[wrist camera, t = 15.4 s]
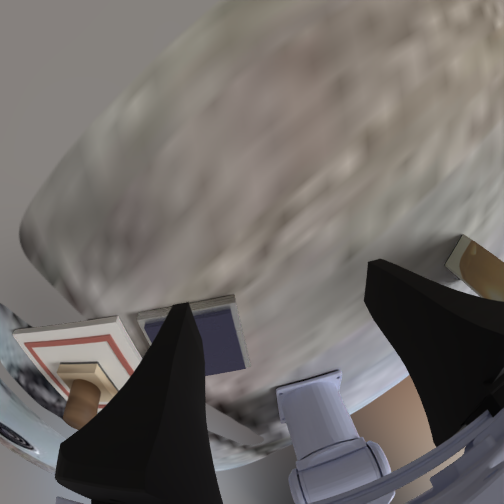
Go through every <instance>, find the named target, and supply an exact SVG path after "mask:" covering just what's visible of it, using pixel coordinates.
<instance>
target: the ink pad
mask: <svg viewBox="0 0 504 504" xmlns="http://www.w3.org/2000/svg"><path fill="white" fill-rule="evenodd" d="M189 305H190V308H191V311H192V313H193V316H194V319H195V322H196V325H197V327H198V330H199V333H200V335H201V338H202V342H203V350H204V358H205V376H208V375H214V374H220V373H225V372H231V371H236V370H241V369H246V368H247V367H251V364H250V359H249V355H248V351H247V347H246V343H245V339H244V334H243V330H242V326H241V321H240V317H239V313H238V308H237V304H236V300H235V295H230V296H225V297H220V298H215V299H210V300H205V301H200V302H194V303H189ZM170 309H171V307H167V308H162V309H156V310H150V311H144V312H139V314H138V318H137V321H138V323H139V325H140V327H141V329H142V331H143V333H144V335H145V337H146V339H147V341H148V343H149V344H150V346H151V344H152V342H153V341H154V339H155V337H156V335H157V333H158V332H159V330H160V328H161V326H162V324H163V322H164V320H165V319H166V317H167V315H168V313H169V311H170Z"/></svg>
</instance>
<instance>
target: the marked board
mask: <svg viewBox="0 0 504 504" xmlns="http://www.w3.org/2000/svg"><path fill="white" fill-rule="evenodd" d="M12 335H13V336H14V338H15V339H16V340H17V342H18V343H19V345H20V346H21V347H22V349H23V350H24V351H25V353H26V354H27V355H28V357H29V358H30V359H31V361H32V362H33V363H34V364H35V366H36V367H37V368H38V369H39V370H40V372H41V373H42V374H43V375H44V376H45V378H46V379H47V380H48V381H49V382H50V383H51V384H52V386H53V387H54V388H55V389H56V390H57V391H58V392H59V393H60V394H61V395H62V396H63V397H64V398H65V399H66V400H68V396H69V393H70V389H69V388H68V386H67V385H66V384H65V383H64V382H63V380H62V379H61V378H60V377H59V376H58V374H57V370H58V367H59V365H60V362H95V361H98V362H99V364H100V365H101V367H102V368H103V370H104V371H105V372H106V374H107V375H108V377H109V378H110V379H111V381H112V382H113V383H114V385H115V386H116V387H117V389H118V390H120V389H121V388H122V387H123V386H124V384H125V383H126V382H127V380H128V379H129V378H130V376H131V375H132V374H133V372H134V371H135V369H136V368H137V367H138V365H139V363H140V362H141V360H142V357H141V356H140V354H139V352H138V351H137V349H136V347H135V346H134V344H133V342H132V340H131V339H130V337H129V335H128V333H127V331H126V330H125V328H124V326H123V324H122V322H121V320H120V319H119V317H118V316H114V317H107V318H101V319H94V320H87V321H80V322H73V323H65V324H58V325H50V326H42V327H33V328H24V329H15V331H14V332H13V334H12ZM108 403H109V402H99V406H98V411H97V412H100V411H101V410H102V409H103V408H104V407H105V406H106V405H107V404H108Z"/></svg>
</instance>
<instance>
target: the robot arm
mask: <svg viewBox="0 0 504 504" xmlns="http://www.w3.org/2000/svg"><path fill="white" fill-rule="evenodd" d="M364 302H365V304H366V306H367V308H368V310H369V312H370V314H371V316H372V318H373V319H374V321H375V322H376V324H377V325H378V327H379V328H380V330H381V331H382V332H383V334H384V335H385V337H386V338H387V339H388V341H389V342H390V344H391V345H392V346H393V348H394V349H395V351H396V352H397V354H398V355H399V356H400V358H401V360H402V361H403V363H404V365H405V366H406V368H407V370H408V372H409V374H410V376H411V378H412V380H413V382H414V384H415V387H416V389H417V392H418V394H419V396H420V398H421V401H422V404H423V407H424V409H425V412H426V415H427V418H428V422H429V425H430V429H431V433H432V437H433V442H434V444H435V446H436V448H435V449H433V450H431V451H430V452H428V453H426V454H425V455H423V456H421V457H420V458H418V459H416V460H414V461H413V462H411V463H409V464H407V465H405V466H403V467H401V468H400V469H397V470H396V471H393V472H391V469H390V466H389V463H388V461H387V458H386V456H385V454H384V452H383V450H382V449H381V448H380V446H379V445H378V444H377V443H375V442H372V441H368V442H365V440H364V438H363V437H361V438H360V437H359V435H358V433H357V430H356V428H355V426H354V424H353V422H352V420H351V417H350V415H349V413H348V410H347V408H346V406H345V404H344V402H343V400H342V397H341V395H340V393H339V390H340V385H341V379H342V371H340V370H339V371H335V372H332V373H329V374H326V375H323V376H319V377H316V378H312V379H309V380H305V381H302V382H298V383H294V384H291V385H287V386H283V387H279V388H277V389H276V397H277V403H278V410H279V416H280V422H281V423H287V426H288V430H289V433H290V436H291V440H292V443H293V446H294V450H295V453H296V456H297V460H298V461H296V466H297V468H296V469H293V470H292V471H291V473H290V475H289V485H290V490H291V493H292V497H293V499H294V502H295V504H389V503H390V502H391V500H392V499H393V497H394V495H395V490H396V489H399V488H400V487H403V486H404V485H406V484H408V483H410V482H412V481H414V480H415V479H417V478H419V477H420V476H422V475H424V474H425V473H427V472H429V471H430V470H432V469H434V468H435V467H437V466H438V465H440V464H441V463H443V462H444V461H446V460H447V459H449V458H450V457H452V456H453V455H454V454H456V453H457V452H459V451H460V450H461V449H463V448H464V447H465V446H466V447H465V452H464V454H463V455H462V456H461V457H460V458H459V459H457V460H456V461H455V462H453V463H452V464H450V465H449V466H447V467H446V468H445V469H443V470H442V471H440V472H438V473H437V474H436V475H434V476H432V477H431V478H430V481H431V483H432V485H433V488H431V489H430V490H428V491H426V492H424V493H423V494H421V495H419V496H417V497H416V498H414V499H412V500H410V501H408V502H406V503H405V504H504V302H503V301H496V300H491V299H486V298H482V297H477V296H474V295H470V294H467V293H463V292H460V291H457V290H454V289H451V288H449V287H446V286H444V285H441V284H439V283H436V282H434V281H431V280H429V279H427V278H424V277H422V276H420V275H418V274H415V273H413V272H411V271H409V270H407V269H404V268H402V267H400V266H398V265H395V264H393V263H391V262H388V261H385V260H383V259H378V260H374V261H370V262H368V270H367V279H366V288H365V297H364ZM55 479H56V480H57V482H58V483H59V484H61V485H62V486H64V487H66V488H68V489H70V490H72V491H74V492H76V493H78V494H81V495H82V496H84V497H87V498H89V499H91V504H223V502H222V498H221V494H220V491H219V487H218V483H217V478H216V474H215V469H214V465H213V460H212V454H211V449H210V443H209V437H208V430H207V423H206V411H205V358H204V350H203V342H202V338H201V335H200V333H199V330H198V327H197V325H196V322H195V319H194V316H193V313H192V311H191V308H190V305H189V302H187V303H181V304H176V305H173V306H172V307H171V309H170V311H169V313H168V315H167V317H166V319H165V320H164V322H163V324H162V326H161V328H160V330H159V332H158V333H157V335H156V337H155V339H154V341H153V342H152V344H151V346H150V348H149V349H148V351H147V352H146V354H145V356H144V357H143V359H142V360H141V362H140V363H139V365H138V367H137V368H136V369H135V371H134V372H133V374H132V375H131V376H130V378H129V379H128V380H127V382H126V383H125V384H124V386H123V387H122V388H121V389H120V390H119V391H118V392H117V394H116V395H115V396H114V397H113V398H112V399H111V400H110V401H109V403H108V404H107V405H106V406H105V407H104V408H103V409H102V410H101V411H100V412H99V413H98V414H97V415H96V416H95V417H93V418H92V419H91V420H90V421H89V422H88V423H87V424H86V425H84V426H83V427H82V428H81V429H80V430H78V431H77V432H76V433H74V434H73V435H72V436H70V437H69V438H68V439H66V440H65V441H64V442H62V443H61V444H60V449H59V454H58V460H57V466H56V473H55ZM56 504H83V503H79V502H75V501H72V500H68V499H64V498H61V497H56Z"/></svg>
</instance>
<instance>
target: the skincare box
mask: <svg viewBox="0 0 504 504" xmlns="http://www.w3.org/2000/svg"><path fill="white" fill-rule="evenodd" d="M445 266H446V267H447V268H448V269H449V270H450V271H451V272H452V273H454V274H455V275H456V276H457V277H458V278H460V279H461V280H462V281H463V282H464V283H465V284H466V285H468V286H469V287H470V288H471V289H472V290H473V291H474V292H475V293H477V294H478V295H479V296H480V297H482V298H486V299H491V300H496V301H503V302H504V262H502V261H501V260H500V259H498V258H497V257H496V256H494V255H493V254H492V253H490V252H489V251H487V250H486V249H485V248H483V247H482V246H480V245H479V244H477V243H476V242H475V241H473V240H471V239H470V238H468V237H467V236H465V235H464V234H463V235H462V237H461V239H460V240H459V242H458V244H457V246H456V247H455V249H454V251H453V252H452V254H451V256H450V257H449V259H448V260H447V262H446V264H445Z"/></svg>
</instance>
